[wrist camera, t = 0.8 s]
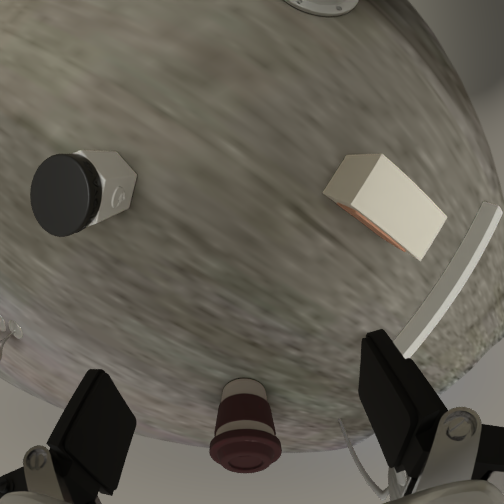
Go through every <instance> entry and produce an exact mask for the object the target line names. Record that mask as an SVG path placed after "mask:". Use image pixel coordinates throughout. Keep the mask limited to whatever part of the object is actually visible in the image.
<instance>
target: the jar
mask: <svg viewBox="0 0 504 504" xmlns="http://www.w3.org/2000/svg"><path fill="white" fill-rule="evenodd" d="M136 179H137V174H136V173H135V172H134V171H133V169H132V168H131V167H130V166H129V165H128V164H127V163H126V162H125V160H124V159H123V158H122V157H121V156H120V155H119V154H118V152H116V151H96V150H79V151H77V152H75V153H72V154H56V155H53V156H51V157H49V158H47V159H46V160H45V161H43V163H42V164H41V165H40V166H39V167H38V169H37V171H36V173H35V175H34V177H33V180H32V184H31V193H30V198H31V206H32V210H33V213H34V215H35V218H36V220H37V221H38V223H39V224H40V226H41V227H42V228H43V229H44V230H45V231H47V232H48V233H50V234H52V235H54V236H58V237H65V236H69V235H72V234H74V233H77V232H79V231H81V230H83V229H84V228H86V227H87V226H90V225H94V224H97V223H99V222H101V221H103V220H105V219H107V218H109V217H111V216H114V215H116V214H118V213H120V212H122V211H125V210H127V209H129V206H130V202H131V198H132V194H133V190H134V186H135V182H136Z"/></svg>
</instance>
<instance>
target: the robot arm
mask: <svg viewBox="0 0 504 504" xmlns="http://www.w3.org/2000/svg"><path fill="white" fill-rule="evenodd" d="M284 1H286V2H287V3H288V4H290V5H292V6H293V7H295V8H297V9H299V10H302V11H304V12H307V13H310V14H314V15H320V16H339V15H343V14H346V13H348V12H350V11H351V10H352V9H353V8H354V7H355V6H356V5H357V3H358V1H359V0H284ZM358 392H359V397H360V400H361V402H362V404H363V407H364V409H365V411H366V414H367V416H368V418H369V421H370V423H371V425H372V428H373V430H374V432H375V435H376V437H377V439H378V442H379V444H380V447H381V449H382V451H383V454H384V456H385V459H386V461H387V464H388V466H389V467H390V468H393V467H394V468H395V470H396V473H399V472H401V471H404V470H406V473H407V475H408V477H410V479H409V481H408V484H407V486H406V488H405V490H404V492H403V494H402V497H401V498H398V499H396V500H393V501H389V502H386V503H384V504H504V495H503V494H502V493H504V427H499V426H492V425H485V424H481V419H480V417H479V415H478V414H477V413H476V412H475V411H474V410H472V409H470V408H466V407H456V408H453V409H450V410H449V411H448V410H447V408H446V407H445V405H444V404H443V402H442V401H441V400H440V398H439V396H438V395H437V393H436V392H435V391H434V389H433V388H432V386H431V385H430V384H429V382H428V381H427V379H426V378H425V377H424V375H423V374H422V372H421V371H420V370H419V368H418V367H417V365H416V364H415V363H414V361H413V360H412V359H410V358H406V359H405V358H404V357H403V355H402V354H401V352H400V351H399V350H398V348H397V347H396V346H395V344H394V343H393V341H392V340H391V339H390V337H389V336H388V335H387V333H386V332H385V331H384V330H383V329H380V330H376V331H373V332H369V333H367V335H366V338H363V339H362V344H361V363H360V377H359V389H358ZM135 428H136V418H135V416H134V415H133V413H132V412H131V410H130V409H129V407H128V406H127V404H126V402H125V401H124V399H123V398H122V396H121V395H120V393H119V391H118V390H117V388H116V386H115V385H114V383H113V381H112V380H111V378H110V376H109V375H108V374H107V373H105V371H104V370H102V369H90V370H88V371H87V373H86V374H85V376H84V378H83V379H82V381H81V383H80V384H79V386H78V388H77V389H76V391H75V393H74V394H73V396H72V398H71V399H70V401H69V403H68V405H67V406H66V408H65V410H64V412H63V414H62V415H61V417H60V419H59V421H58V423H57V425H56V426H55V428H54V430H53V432H52V434H51V436H50V438H49V439H48V442H47V444H48V446H49V447H50V450H48V449H47V448H46V447H44V446H40V445H38V446H34V447H32V448H30V449H29V450H28V451H27V452H26V454H25V456H24V459H23V467H21V468H19V469H17V470H15V471H12V472H10V473H8V474H5V475H3V476H1V477H0V504H101V502H100V500H99V498H98V496H97V495H98V491H99V492H100V493H102V494H107V495H111V496H112V495H113V491H114V490H116V489H117V486H118V483H119V480H120V476H121V472H122V469H123V466H124V462H125V459H126V456H127V452H128V450H129V446H130V443H131V440H132V437H133V434H134V431H135Z"/></svg>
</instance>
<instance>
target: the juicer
mask: <svg viewBox="0 0 504 504" xmlns="http://www.w3.org/2000/svg"><path fill="white" fill-rule="evenodd" d="M338 420H339V423H340V426H341V429H342V432H343V435H344V438H345V440H346V443H347V445H348V448H349V450H350V453H351V455H352V457H353V459H354V461H355V463H356V465H357V467H358V469H359V471H360V472H361V474H362V476H363V477H364V479H365V481H366V482H367V483H368V485H369V486H370V487H371V489H372V490H373V491H374V492H375V494H377V496H378V497H379V498H380V499H381V500H382V501H383V500H385V498H386V497H387V495H388V494H390V501H393V500H396V499H398V498H401V497H402V494H403V492H404V490H405V488H406V486H407V484H408V481H409V479H410V477H408V475H407V473H406V475H407V481H406V477H405V475H404V472H403V471H401V472H399V473H396V470H395V468H390V467H389V471H388V484H389V486H388V487H387V488H386V489H385V490H384V491H382V490H381V489H380V488H379V487H378V486H377V485H376V484H375V483H374V482H373V481H372V479H371V478H370V477H369V475H368V474H367V473H366V471H365V469H364V468H363V466H362V465H361V463H360V461H359V459H358V457H357V455H356V453H355V451H354V449H353V447H352V445H351V442H350V440H349V438H348V435H347V433H346V431H345V428H344V426H343V423H342V421H341V418H340V419H338Z"/></svg>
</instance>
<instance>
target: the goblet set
mask: <svg viewBox="0 0 504 504" xmlns="http://www.w3.org/2000/svg"><path fill="white" fill-rule="evenodd" d="M9 329H10V331H11V333H10V334H9V335H8V336H7V337H6V338H4V339H3V340H1V341H0V360H1V358H2V349H3V345H4V343H5V342H6V341H7V339H8V338H9V337H10V336H11V335H12V334H13V335H14V336H15V337H16V338H18V339H22V338H23V333H22V330H21V328H20V327H19V325H18V324H17V323H16V322H14V321H12V320H11V321H9ZM0 330H1V331H5V330H6V325H5V322H4V320H3V318H2V317H1V316H0Z"/></svg>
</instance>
